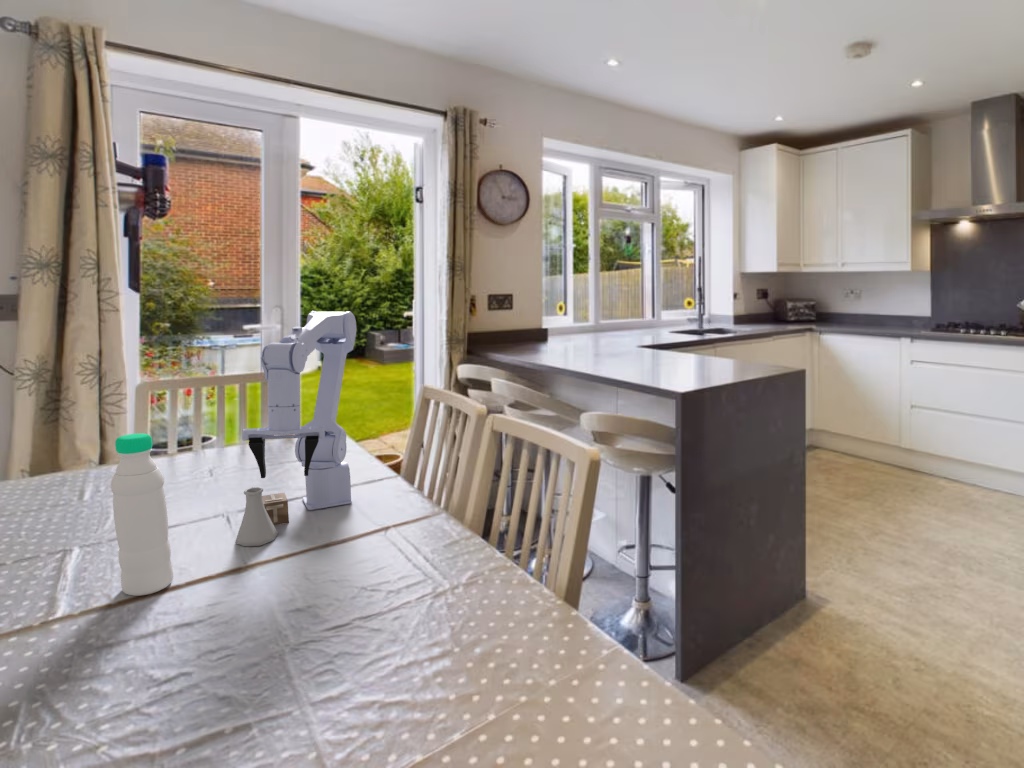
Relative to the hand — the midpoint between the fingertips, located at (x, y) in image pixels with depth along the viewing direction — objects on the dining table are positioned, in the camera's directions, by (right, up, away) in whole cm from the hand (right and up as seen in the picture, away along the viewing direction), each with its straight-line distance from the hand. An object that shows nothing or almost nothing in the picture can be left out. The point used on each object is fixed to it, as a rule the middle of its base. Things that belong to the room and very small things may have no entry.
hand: (285, 475), depth 110 cm
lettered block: (-6, -11, +9) cm, 15 cm away
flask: (-5, -12, 0) cm, 14 cm away
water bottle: (-15, -15, -18) cm, 28 cm away
